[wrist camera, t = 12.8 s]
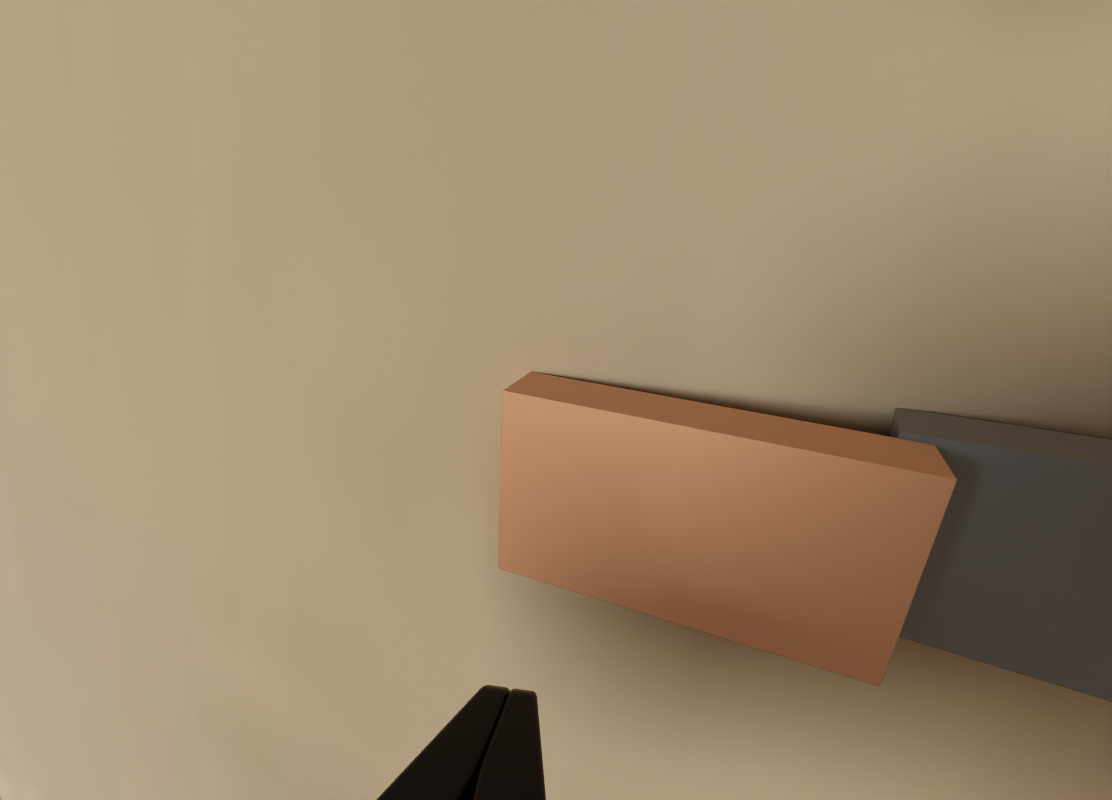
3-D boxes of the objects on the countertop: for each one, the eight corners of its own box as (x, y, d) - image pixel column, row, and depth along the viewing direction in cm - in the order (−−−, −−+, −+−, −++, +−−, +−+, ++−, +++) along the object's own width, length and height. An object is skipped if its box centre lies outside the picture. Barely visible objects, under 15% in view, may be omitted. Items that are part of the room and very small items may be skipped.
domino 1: (498, 568, 14) (879, 686, 12) (503, 390, 13) (956, 479, 10) (523, 535, 16) (869, 633, 13) (531, 371, 14) (934, 444, 11)
